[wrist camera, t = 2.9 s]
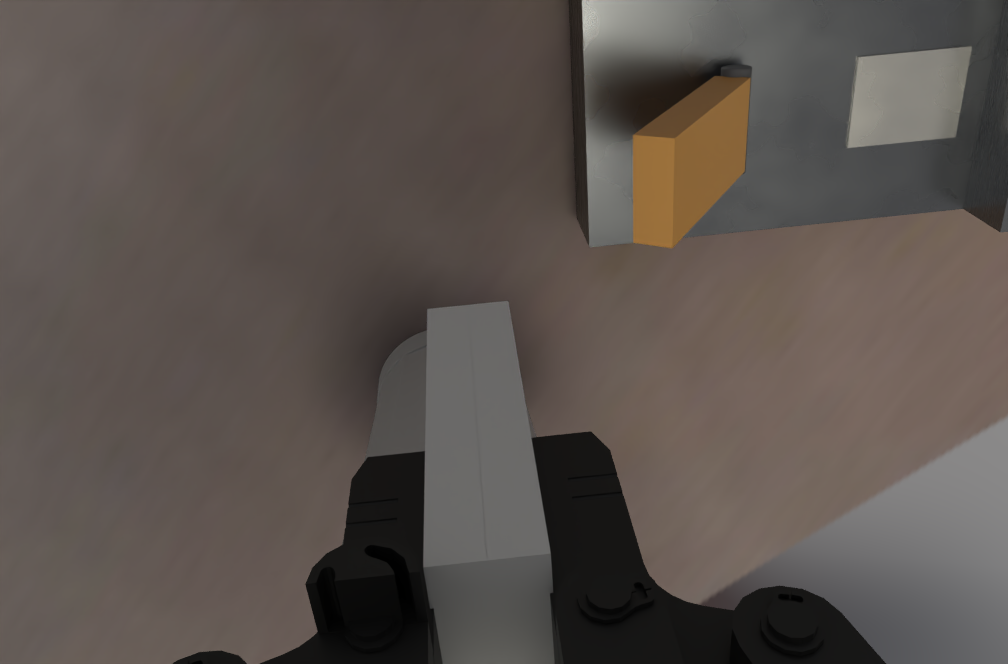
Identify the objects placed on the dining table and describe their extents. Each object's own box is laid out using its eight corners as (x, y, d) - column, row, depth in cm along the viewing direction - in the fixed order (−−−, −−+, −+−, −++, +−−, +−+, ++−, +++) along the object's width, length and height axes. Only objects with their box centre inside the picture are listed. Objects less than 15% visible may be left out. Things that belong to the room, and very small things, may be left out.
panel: (576, 218, 35) (600, 274, 30) (560, -223, 27) (589, -241, 23) (960, 179, 35) (1043, 227, 31) (1045, -263, 28) (1171, -289, 23)
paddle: (718, 165, 31) (633, 248, 25) (723, 63, 29) (632, 127, 23) (751, 168, 30) (672, 254, 24) (759, 65, 29) (674, 130, 23)
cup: (389, 287, 36) (374, 464, 25) (565, 338, 37) (619, 523, 27) (338, 437, 39) (306, 649, 28) (502, 477, 41) (528, 689, 30)
